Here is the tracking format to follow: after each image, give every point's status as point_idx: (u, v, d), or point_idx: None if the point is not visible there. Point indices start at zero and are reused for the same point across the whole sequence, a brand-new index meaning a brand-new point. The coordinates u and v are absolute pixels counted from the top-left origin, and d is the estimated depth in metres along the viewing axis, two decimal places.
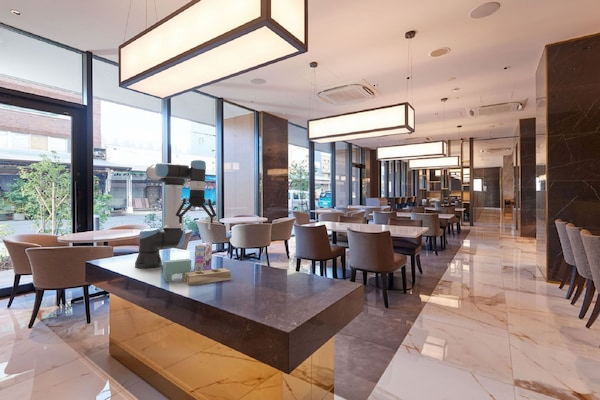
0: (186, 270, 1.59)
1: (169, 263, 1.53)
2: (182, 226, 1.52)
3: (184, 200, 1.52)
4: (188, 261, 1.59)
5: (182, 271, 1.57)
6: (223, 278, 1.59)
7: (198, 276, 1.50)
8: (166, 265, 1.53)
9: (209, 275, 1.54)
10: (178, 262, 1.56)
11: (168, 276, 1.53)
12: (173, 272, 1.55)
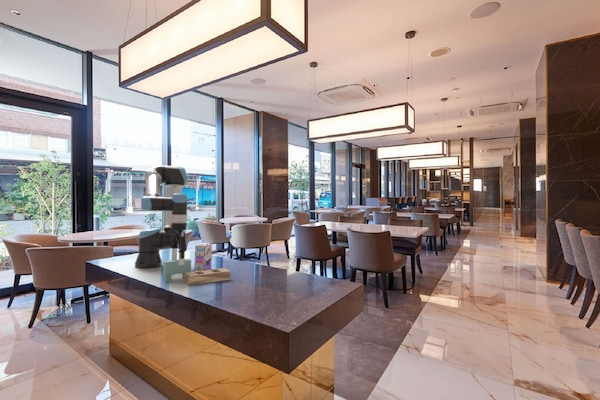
0: (186, 270, 1.59)
1: (169, 263, 1.53)
2: (171, 257, 1.62)
3: (172, 232, 1.62)
4: (188, 261, 1.59)
5: (182, 271, 1.57)
6: (223, 278, 1.59)
7: (198, 276, 1.50)
8: (166, 265, 1.53)
9: (209, 275, 1.54)
10: (178, 262, 1.56)
11: (168, 276, 1.53)
12: (173, 272, 1.55)
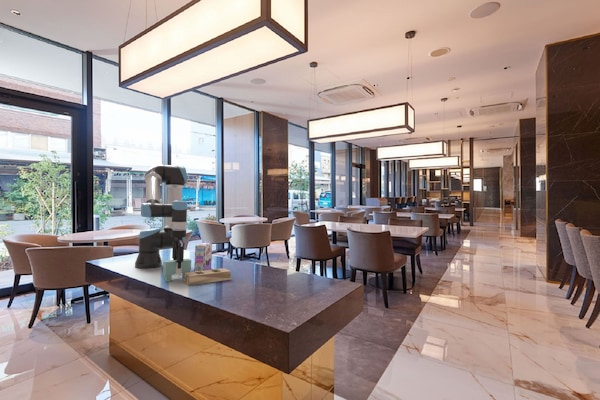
0: (186, 270, 1.59)
1: (169, 263, 1.53)
2: None
3: (172, 242, 1.62)
4: (188, 261, 1.59)
5: (182, 271, 1.57)
6: (223, 278, 1.59)
7: (198, 276, 1.50)
8: (166, 265, 1.53)
9: (209, 275, 1.54)
10: None
11: (168, 276, 1.53)
12: (173, 272, 1.55)
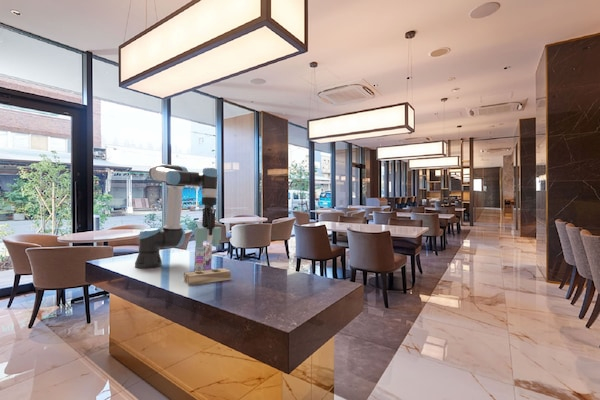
0: (216, 237, 1.58)
1: (200, 229, 1.53)
2: None
3: (202, 210, 1.62)
4: (218, 229, 1.59)
5: (213, 238, 1.57)
6: (223, 278, 1.59)
7: (198, 276, 1.50)
8: (198, 231, 1.52)
9: (209, 275, 1.54)
10: None
11: (199, 242, 1.53)
12: (204, 239, 1.55)
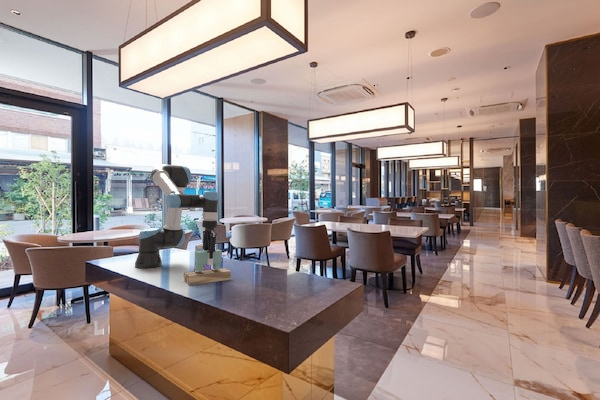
0: (217, 260, 1.59)
1: (201, 253, 1.53)
2: None
3: (203, 232, 1.62)
4: (219, 251, 1.59)
5: (213, 261, 1.57)
6: (223, 278, 1.59)
7: (198, 276, 1.50)
8: (198, 255, 1.53)
9: (209, 275, 1.54)
10: None
11: (200, 266, 1.53)
12: (205, 262, 1.55)
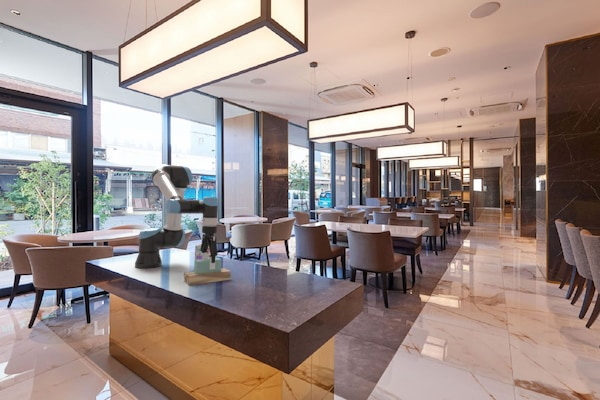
0: (217, 269, 1.59)
1: (201, 262, 1.53)
2: None
3: None
4: (218, 260, 1.59)
5: (213, 270, 1.57)
6: (223, 278, 1.59)
7: (198, 276, 1.50)
8: (198, 264, 1.53)
9: (209, 275, 1.54)
10: (209, 261, 1.56)
11: None
12: (204, 271, 1.55)
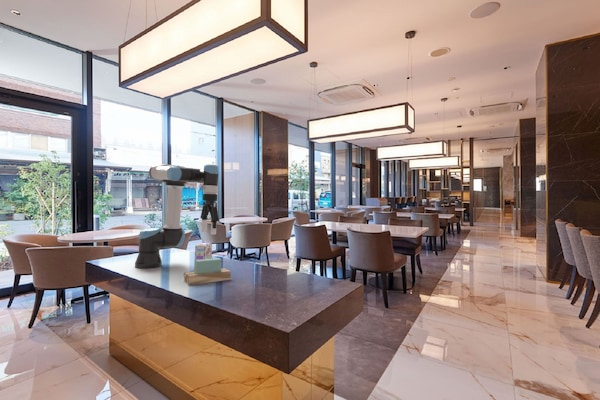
0: (217, 269, 1.59)
1: (201, 262, 1.53)
2: None
3: (203, 204, 1.63)
4: (218, 260, 1.59)
5: (213, 270, 1.57)
6: (223, 278, 1.59)
7: (198, 276, 1.50)
8: (198, 264, 1.53)
9: (209, 275, 1.54)
10: (209, 261, 1.56)
11: None
12: (204, 271, 1.55)
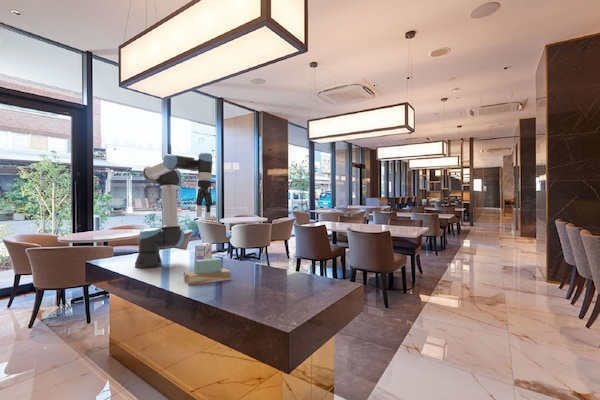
0: (217, 269, 1.59)
1: (201, 262, 1.53)
2: None
3: (198, 190, 1.73)
4: (218, 260, 1.59)
5: (213, 270, 1.57)
6: (223, 278, 1.59)
7: (198, 276, 1.50)
8: (198, 264, 1.53)
9: (209, 275, 1.54)
10: (209, 261, 1.56)
11: None
12: (204, 271, 1.55)
